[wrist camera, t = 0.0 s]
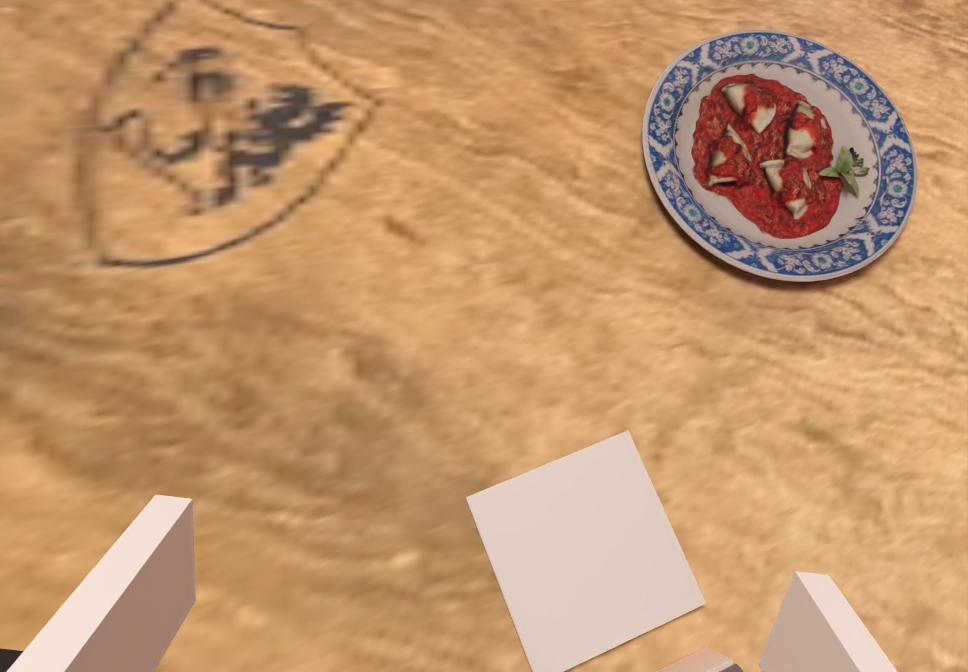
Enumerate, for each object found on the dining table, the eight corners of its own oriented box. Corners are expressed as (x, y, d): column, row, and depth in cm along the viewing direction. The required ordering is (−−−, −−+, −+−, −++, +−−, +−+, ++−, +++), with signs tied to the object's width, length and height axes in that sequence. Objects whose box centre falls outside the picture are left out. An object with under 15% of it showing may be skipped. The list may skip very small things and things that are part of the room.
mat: (700, 601, 48) (706, 603, 47) (535, 680, 46) (537, 684, 45) (624, 431, 51) (628, 430, 50) (465, 497, 49) (465, 497, 48)
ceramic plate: (589, 204, 57) (597, 188, 54) (698, 4, 63) (711, -20, 61) (849, 340, 55) (872, 331, 52) (933, 120, 62) (957, 101, 59)
